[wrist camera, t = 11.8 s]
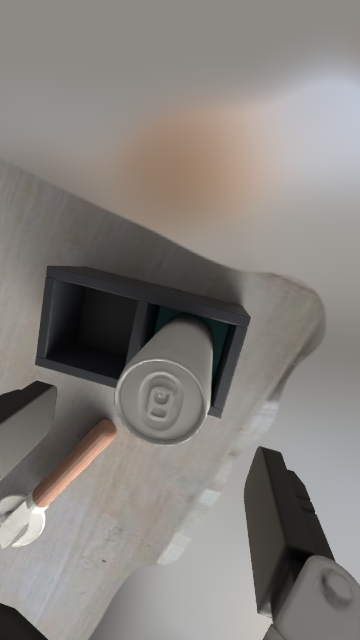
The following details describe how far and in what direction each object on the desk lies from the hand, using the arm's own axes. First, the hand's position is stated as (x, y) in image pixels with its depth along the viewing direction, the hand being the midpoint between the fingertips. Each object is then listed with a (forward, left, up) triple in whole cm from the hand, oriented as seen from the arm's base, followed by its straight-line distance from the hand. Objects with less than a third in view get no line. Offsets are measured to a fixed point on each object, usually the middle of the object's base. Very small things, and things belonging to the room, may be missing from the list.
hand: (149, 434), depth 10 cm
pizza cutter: (+20, -11, -16) cm, 28 cm away
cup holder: (0, -4, -16) cm, 16 cm away
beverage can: (0, 0, -15) cm, 15 cm away
